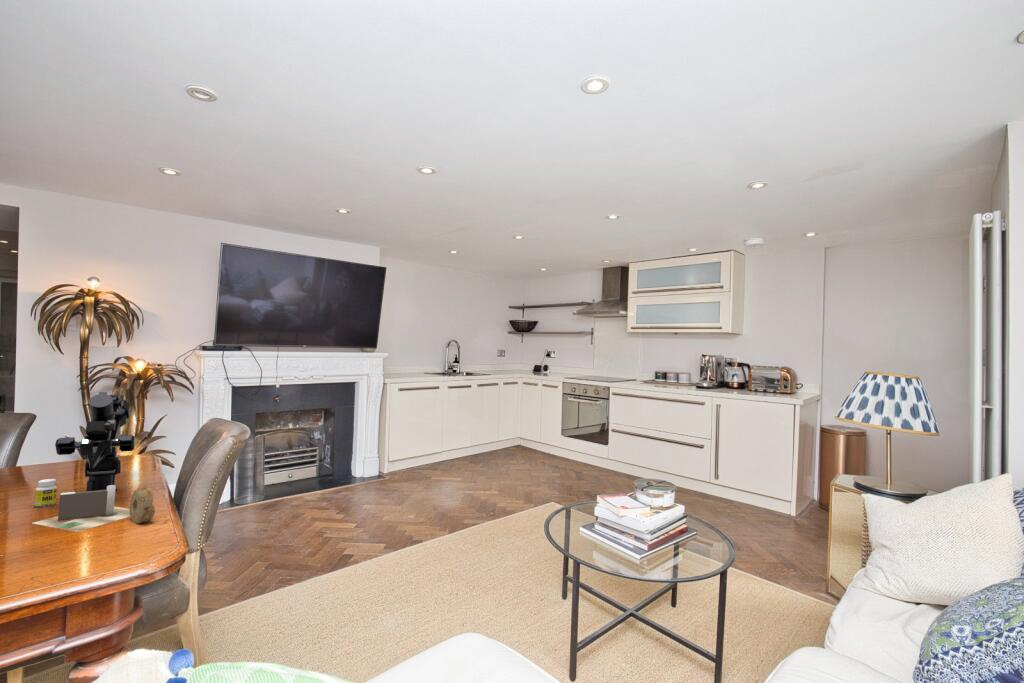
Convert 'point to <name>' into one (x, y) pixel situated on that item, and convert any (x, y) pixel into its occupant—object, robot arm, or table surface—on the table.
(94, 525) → the cream square board
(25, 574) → the table surface
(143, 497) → the stone disc
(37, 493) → the supplement bottle
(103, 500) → the grey upright slab
